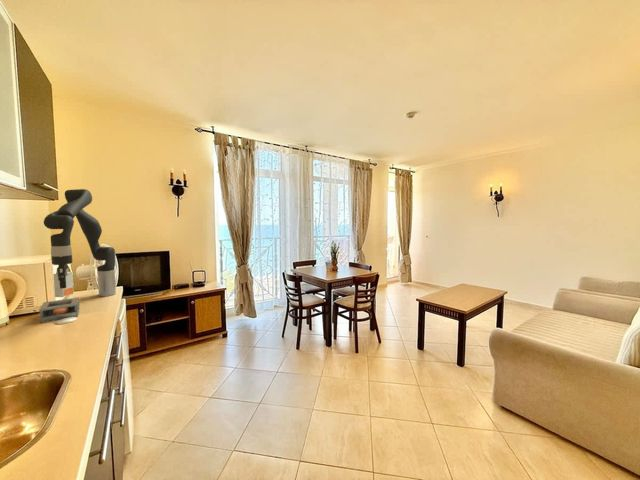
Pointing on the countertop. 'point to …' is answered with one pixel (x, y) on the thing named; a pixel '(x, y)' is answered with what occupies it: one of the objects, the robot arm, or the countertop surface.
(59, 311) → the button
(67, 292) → the skincare box
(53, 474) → the countertop surface
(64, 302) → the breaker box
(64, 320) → the coaster
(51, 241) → the robot arm
